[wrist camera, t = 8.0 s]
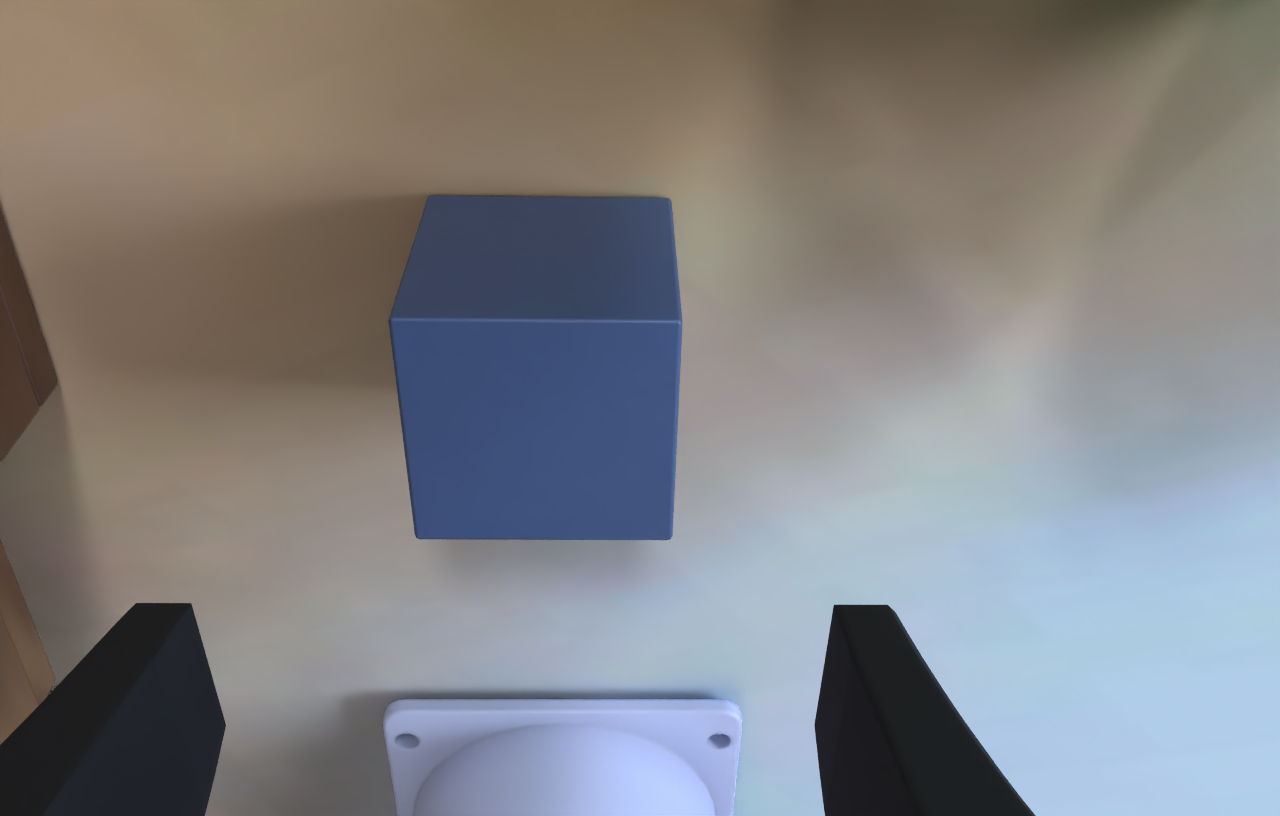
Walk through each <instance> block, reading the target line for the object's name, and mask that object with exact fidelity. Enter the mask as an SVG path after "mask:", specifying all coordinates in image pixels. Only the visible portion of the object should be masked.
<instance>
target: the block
mask: <svg viewBox="0 0 1280 816" xmlns="http://www.w3.org/2000/svg"><path fill="white" fill-rule="evenodd" d="M389 328H390V336H391V344H392V352H393V360H394V368H395V377H396V385H397V393H398V401H399V409H400V417H401V425H402V433H403V441H404V449H405V458H406V466H407V474H408V482H409V490H410V498H411V506H412V514H413V522H414V531H415V536H416V538H418V539H520V540H669V539H671V537H672V533H673V512H674V490H675V469H676V448H677V426H678V405H679V384H680V362H681V341H682V313H681V302H680V291H679V280H678V269H677V258H676V247H675V236H674V224H673V213H672V202H671V200H670V199H669V198H621V197H530V196H439V195H431V196H428V198H427V201H426V204H425V208H424V211H423V214H422V217H421V220H420V223H419V226H418V229H417V233H416V236H415V239H414V242H413V245H412V248H411V251H410V255H409V258H408V261H407V264H406V267H405V270H404V273H403V276H402V280H401V283H400V286H399V289H398V292H397V295H396V298H395V302H394V305H393V308H392V311H391V314H390V317H389Z"/></svg>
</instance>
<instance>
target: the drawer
mask: <svg viewBox="0 0 1280 816" xmlns="http://www.w3.org/2000/svg"><path fill="white" fill-rule="evenodd" d="M54 682H55V676H54V673H53V671H52V668H51V666H50V663H49V661H48V658H47V656H46V653H45V651H44V648H43V646H42V643H41V641H40V638H39V636H38V633H37V631H36V628H35V626H34V623H33V621H32V618H31V616H30V613H29V611H28V608H27V606H26V603H25V601H24V598H23V595H22V593H21V590H20V588H19V585H18V583H17V580H16V578H15V575H14V573H13V570H12V568H11V565H10V563H9V560H8V558H7V555H6V553H5V550H4V548H3V545H2V543H1V540H0V745H1V743H2V742H3V741H4V740H5V739H6V738H7V737H8V736H9V735H10V734H11V733H12V732H13V731H14V730H15V729H16V728H17V727H18V726H19V725H20V724H21V723H22V722H23V721H24V720H25V719H26V718H27V717H28V716H29V715H30V714H31V713H32V712H33V711H34V710H35V709H36V708H37V707H38V706H39V705H40V704H41V703H42V702H43V701H44V700H45V699H46V698H47V696H48V694H49V692H50V690H51V688H52V686H53V684H54Z"/></svg>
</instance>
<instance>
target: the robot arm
mask: <svg viewBox="0 0 1280 816" xmlns="http://www.w3.org/2000/svg"><path fill="white" fill-rule="evenodd" d="M382 726H383V732H384V738H385V744H386V750H387V756H388V762H389V768H390V774H391V780H392V786H393V792H394V798H395V804H396V810H397V816H733V808H734V798H735V789H736V780H737V770H738V761H739V751H740V742H741V733H742V718H741V711H740V708H739V707H738V706H737V705H736V704H735V703H733V702H731V701H728V700H722V699H403V700H397V701H394V702H392V703H390V704H389V705H388V706H387V707H386V709H385V713H384V718H383V724H382ZM225 727H226V724H225V720H224V717H223V713H222V710H221V706H220V703H219V699H218V696H217V692H216V689H215V685H214V682H213V678H212V675H211V671H210V668H209V664H208V661H207V657H206V654H205V650H204V647H203V643H202V640H201V636H200V633H199V629H198V626H197V622H196V619H195V615H194V612H193V608H192V604H191V603H136V604H135V605H134V606H133V607H132V608H131V609H130V610H129V611H128V612H127V613H126V614H125V615H124V616H123V617H122V618H121V619H120V620H119V621H118V622H117V623H116V624H115V625H114V626H113V627H112V628H111V629H110V630H109V631H108V633H107V634H106V635H105V636H104V637H103V638H102V639H101V640H100V641H99V642H98V643H97V644H96V645H95V646H94V648H93V649H92V650H91V651H90V652H89V653H88V654H87V655H86V656H85V657H84V658H83V659H82V660H81V661H80V663H79V664H78V665H77V666H76V667H75V668H74V669H73V670H72V671H71V672H70V673H69V674H68V675H67V676H66V677H65V678H64V680H63V681H62V682H61V683H60V684H59V685H58V686H57V687H56V688H55V689H54V690H53V691H52V692H51V693H50V694H49V695H48V696H47V698H46V699H45V700H44V701H43V702H42V703H41V704H40V705H39V706H38V707H37V708H36V709H35V710H34V711H33V712H32V713H31V714H30V715H29V716H28V717H27V718H26V719H25V720H24V721H23V722H22V723H21V724H20V725H19V726H18V727H17V728H16V729H15V730H14V731H13V732H12V733H11V734H10V735H9V736H8V737H7V738H6V739H5V740H4V741H3V742H2V743H1V745H0V816H204V815H205V812H206V808H207V804H208V800H209V796H210V792H211V788H212V784H213V780H214V776H215V772H216V767H217V763H218V758H219V754H220V749H221V745H222V740H223V736H224V731H225ZM815 733H816V743H817V752H818V761H819V770H820V779H821V787H822V795H823V803H824V811H825V816H1035V815H1034V813H1033V812H1032V811H1031V810H1030V808H1029V807H1028V806H1027V805H1026V803H1025V802H1024V801H1023V800H1022V798H1021V797H1020V796H1019V795H1018V793H1017V792H1016V791H1015V789H1014V788H1013V787H1012V785H1011V784H1010V783H1009V782H1008V780H1007V779H1006V778H1005V776H1004V775H1003V774H1002V772H1001V771H1000V770H999V768H998V767H997V766H996V764H995V763H994V761H993V760H992V759H991V757H990V756H989V755H988V753H987V752H986V750H985V749H984V748H983V746H982V745H981V743H980V742H979V741H978V739H977V738H976V737H975V735H974V734H973V732H972V731H971V730H970V728H969V727H968V726H967V724H966V723H965V721H964V720H963V718H962V717H961V715H960V714H959V713H958V711H957V710H956V708H955V707H954V705H953V704H952V702H951V701H950V699H949V698H948V696H947V695H946V693H945V692H944V690H943V689H942V687H941V686H940V684H939V683H938V681H937V679H936V678H935V676H934V675H933V673H932V672H931V670H930V669H929V667H928V665H927V664H926V662H925V661H924V659H923V658H922V656H921V654H920V653H919V651H918V649H917V648H916V646H915V645H914V643H913V641H912V640H911V638H910V636H909V635H908V633H907V631H906V630H905V628H904V626H903V624H902V623H901V621H900V619H899V618H898V616H897V614H896V612H894V611H893V610H892V609H891V608H890V607H889V606H888V605H834V608H833V614H832V620H831V626H830V633H829V639H828V645H827V651H826V657H825V664H824V670H823V676H822V682H821V688H820V695H819V701H818V707H817V713H816V719H815ZM407 734H410V735H407ZM715 734H720V735H715Z"/></svg>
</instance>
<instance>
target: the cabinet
mask: <svg viewBox="0 0 1280 816" xmlns="http://www.w3.org/2000/svg"><path fill="white" fill-rule="evenodd" d="M56 385H57V379H56V376H55V373H54V370H53V367H52V364H51V361H50V358H49V355H48V352H47V349H46V346H45V343H44V339H43V336H42V333H41V330H40V327H39V324H38V321H37V318H36V315H35V312H34V309H33V306H32V303H31V300H30V297H29V294H28V291H27V287H26V284H25V281H24V278H23V275H22V272H21V269H20V266H19V263H18V260H17V257H16V254H15V251H14V248H13V245H12V242H11V239H10V235H9V232H8V229H7V226H6V223H5V220H4V217H3V214H2V211H1V208H0V463H1V462H2V461H3V459H4V458H5V456H6V455H7V454H8V452H9V451H10V450H11V448H12V447H13V445H14V444H15V443H16V441H17V440H18V438H19V437H20V436H21V434H22V433H23V431H24V430H25V429H26V427H27V426H28V424H29V423H30V422H31V420H32V419H33V417H34V416H35V415H36V413H37V412H38V410H39V406H41V405H43V403H44V402H45V401H46V399H47V398H48V396H49V395H50V394H51V392H52V391H53V389H54V388H55V387H56Z"/></svg>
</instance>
